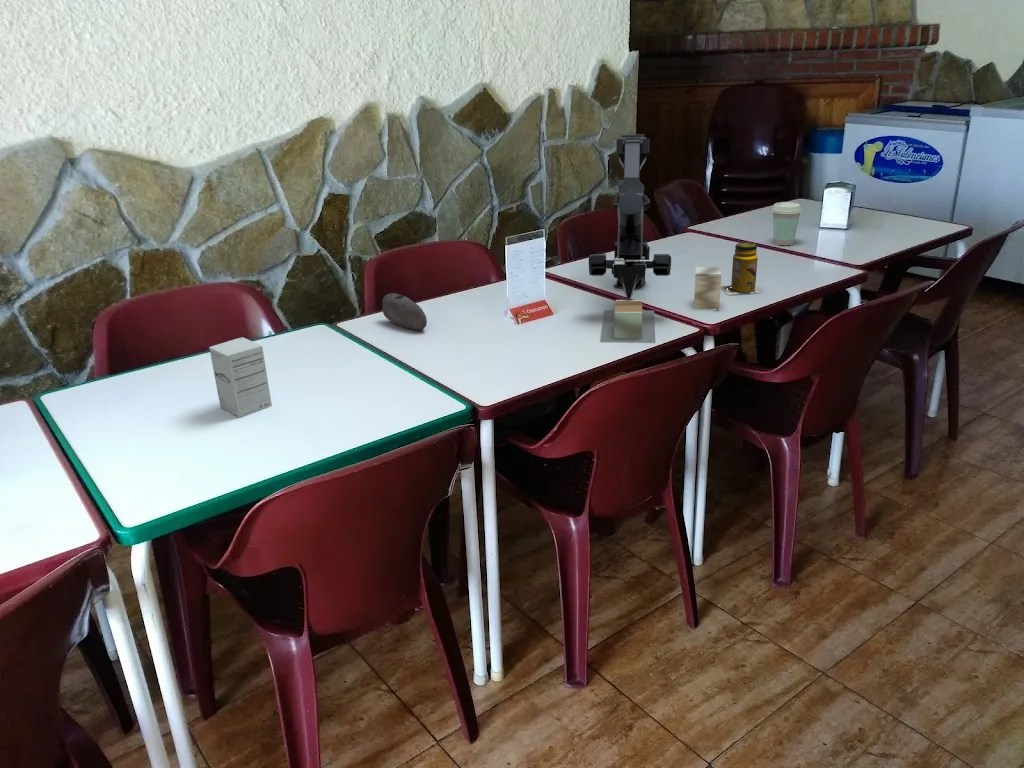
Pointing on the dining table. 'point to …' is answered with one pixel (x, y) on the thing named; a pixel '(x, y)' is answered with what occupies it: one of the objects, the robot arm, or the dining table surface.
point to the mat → (647, 337)
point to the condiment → (743, 269)
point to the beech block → (707, 287)
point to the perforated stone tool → (403, 312)
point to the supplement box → (240, 376)
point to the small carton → (628, 319)
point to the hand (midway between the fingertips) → (628, 297)
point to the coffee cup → (785, 222)
